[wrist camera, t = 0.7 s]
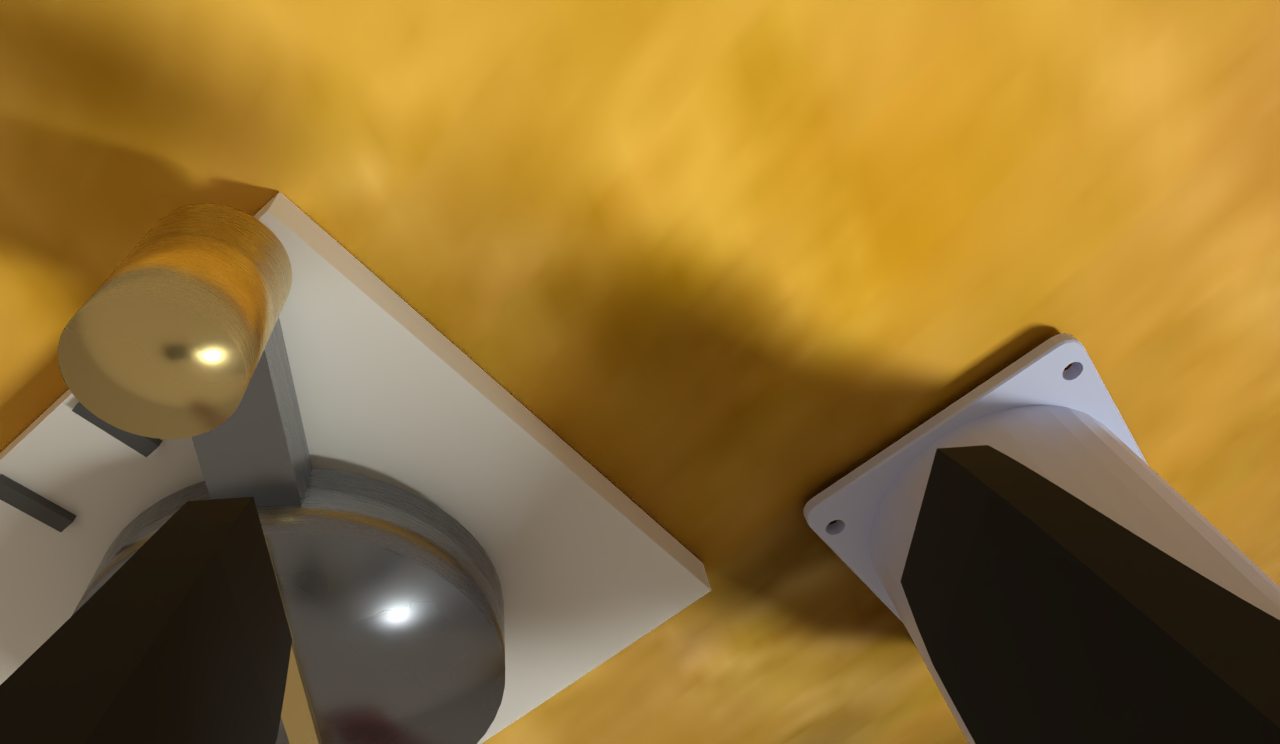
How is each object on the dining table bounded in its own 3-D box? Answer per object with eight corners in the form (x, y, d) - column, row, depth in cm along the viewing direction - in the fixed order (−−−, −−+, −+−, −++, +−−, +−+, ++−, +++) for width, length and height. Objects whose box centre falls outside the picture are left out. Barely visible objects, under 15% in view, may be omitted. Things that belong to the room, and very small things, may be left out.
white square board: (703, 563, 23) (713, 596, 22) (345, 805, 26) (339, 843, 25) (279, 191, 16) (265, 214, 15) (-141, 584, 19) (-176, 626, 18)
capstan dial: (512, 718, 22) (516, 847, 20) (156, 759, 21) (102, 905, 18) (472, 197, 15) (469, 282, 12) (-93, 209, 13) (-253, 309, 11)
